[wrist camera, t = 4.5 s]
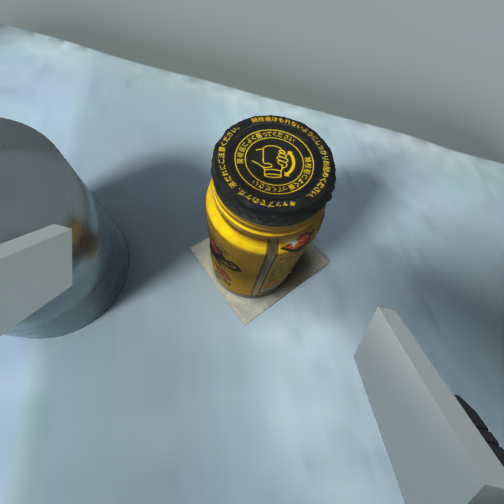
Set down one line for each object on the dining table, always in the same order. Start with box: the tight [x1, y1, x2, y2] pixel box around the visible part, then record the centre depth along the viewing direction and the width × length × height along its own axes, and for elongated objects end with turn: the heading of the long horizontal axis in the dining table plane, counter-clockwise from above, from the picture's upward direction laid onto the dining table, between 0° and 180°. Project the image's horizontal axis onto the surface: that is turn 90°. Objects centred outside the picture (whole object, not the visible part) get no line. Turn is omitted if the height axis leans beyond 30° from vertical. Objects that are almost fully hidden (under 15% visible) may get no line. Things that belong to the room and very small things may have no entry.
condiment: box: [190, 115, 336, 325], centre depth 17 cm, size 7×8×12 cm
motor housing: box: [0, 118, 129, 339], centre depth 16 cm, size 10×10×10 cm
